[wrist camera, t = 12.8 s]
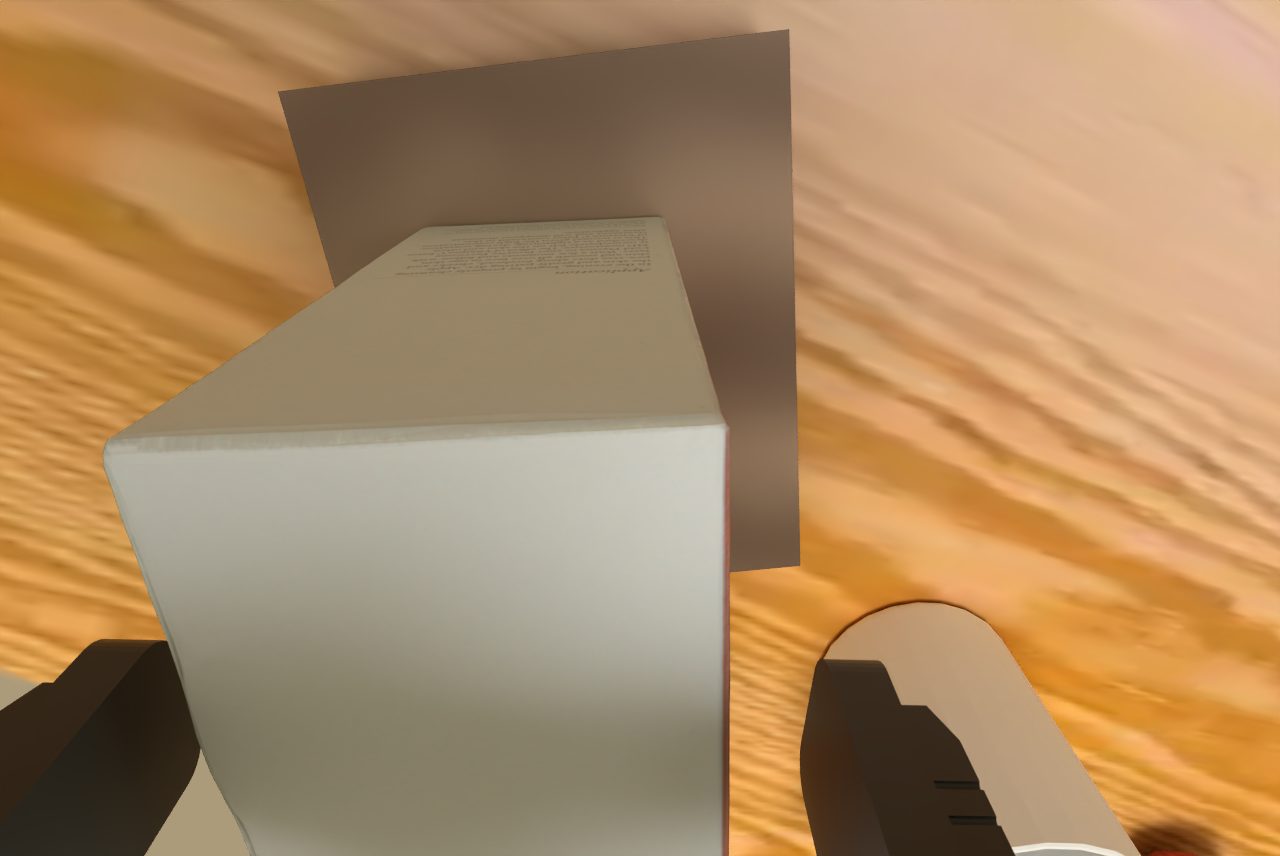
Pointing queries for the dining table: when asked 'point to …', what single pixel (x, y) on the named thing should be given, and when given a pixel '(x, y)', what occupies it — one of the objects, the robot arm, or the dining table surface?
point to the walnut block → (602, 204)
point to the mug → (992, 725)
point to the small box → (455, 555)
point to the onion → (1169, 853)
